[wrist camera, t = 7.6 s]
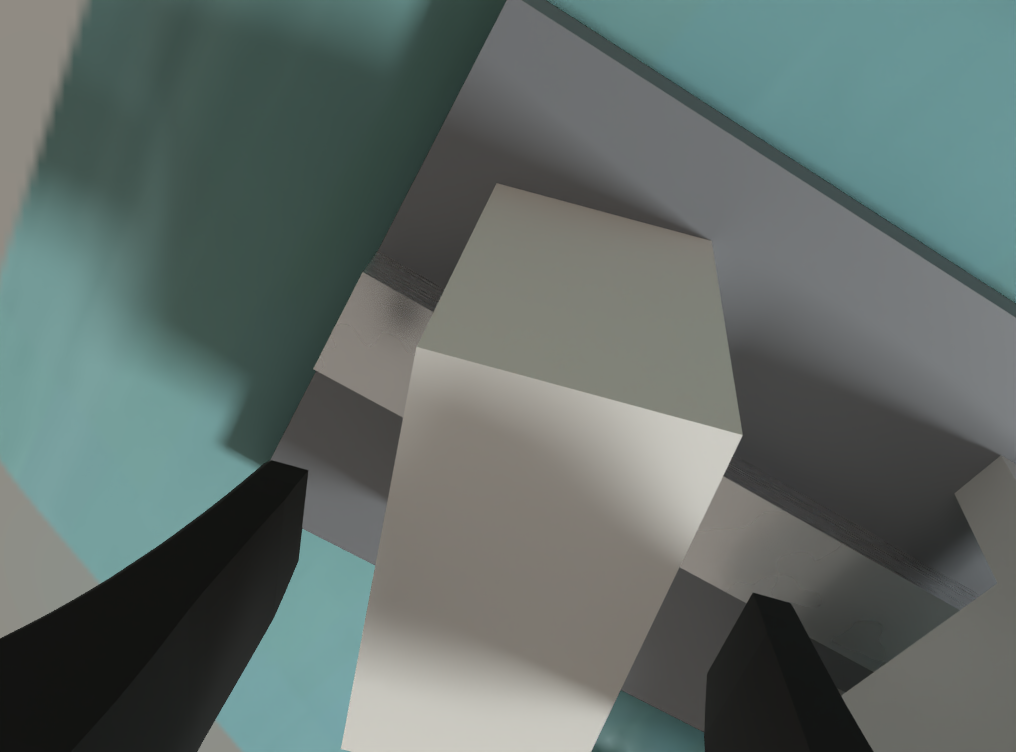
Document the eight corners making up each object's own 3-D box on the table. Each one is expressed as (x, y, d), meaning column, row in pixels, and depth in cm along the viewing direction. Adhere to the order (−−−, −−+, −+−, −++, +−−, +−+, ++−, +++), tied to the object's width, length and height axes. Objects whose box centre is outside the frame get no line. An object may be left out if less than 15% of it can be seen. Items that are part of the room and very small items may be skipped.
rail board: (1241, 449, 17) (1579, 782, 11) (808, 749, 23) (863, 1056, 17) (520, -16, 14) (422, 71, 8) (268, 470, 21) (112, 717, 15)
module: (711, 240, 15) (742, 435, 10) (579, 580, 20) (554, 827, 15) (496, 183, 15) (416, 346, 10) (418, 536, 20) (337, 768, 15)
